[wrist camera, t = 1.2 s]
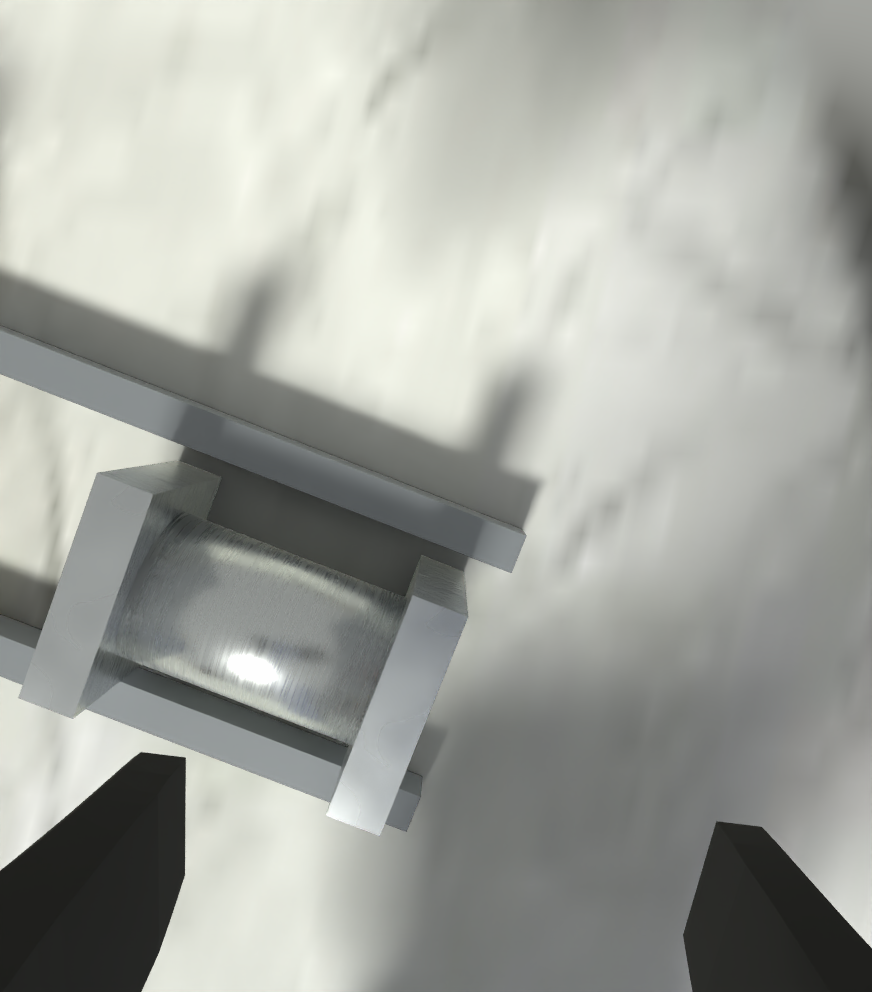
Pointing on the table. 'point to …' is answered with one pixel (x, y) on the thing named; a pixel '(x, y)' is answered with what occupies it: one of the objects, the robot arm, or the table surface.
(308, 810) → the table surface
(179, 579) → the spool
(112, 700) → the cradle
